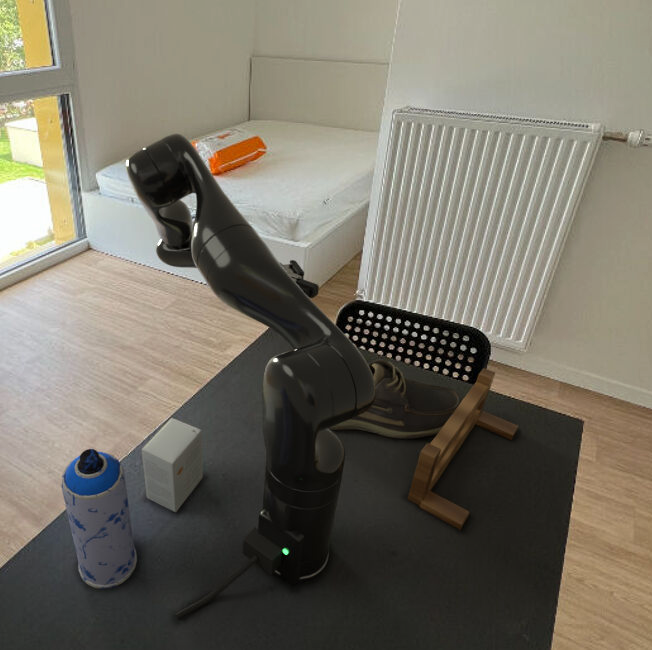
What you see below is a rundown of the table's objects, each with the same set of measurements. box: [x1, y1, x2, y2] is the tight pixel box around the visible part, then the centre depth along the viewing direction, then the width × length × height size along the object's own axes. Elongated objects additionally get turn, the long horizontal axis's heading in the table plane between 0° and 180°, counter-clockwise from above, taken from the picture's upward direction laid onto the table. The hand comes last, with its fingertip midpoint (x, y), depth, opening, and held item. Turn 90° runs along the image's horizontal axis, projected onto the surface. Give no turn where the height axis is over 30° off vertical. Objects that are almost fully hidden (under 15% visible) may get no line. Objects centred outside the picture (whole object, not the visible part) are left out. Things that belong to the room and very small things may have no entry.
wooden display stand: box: [407, 367, 519, 531], centre depth 84 cm, size 27×8×10 cm, turn 138°
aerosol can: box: [61, 448, 138, 590], centre depth 67 cm, size 8×8×20 cm
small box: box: [141, 417, 204, 513], centre depth 80 cm, size 8×6×10 cm
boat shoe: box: [328, 359, 462, 440], centre depth 93 cm, size 11×29×11 cm, turn 89°
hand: (316, 291), depth 93 cm, fingers closed
